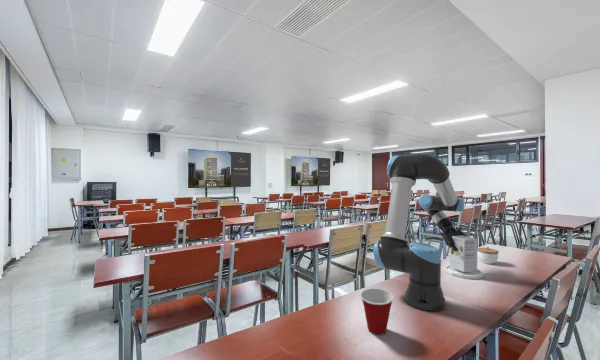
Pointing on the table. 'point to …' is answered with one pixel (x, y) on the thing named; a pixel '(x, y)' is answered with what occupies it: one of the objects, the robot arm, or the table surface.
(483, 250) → the lidded jar
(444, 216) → the robot arm
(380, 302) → the plastic cup
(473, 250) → the supplement box
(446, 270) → the dish
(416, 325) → the table surface
